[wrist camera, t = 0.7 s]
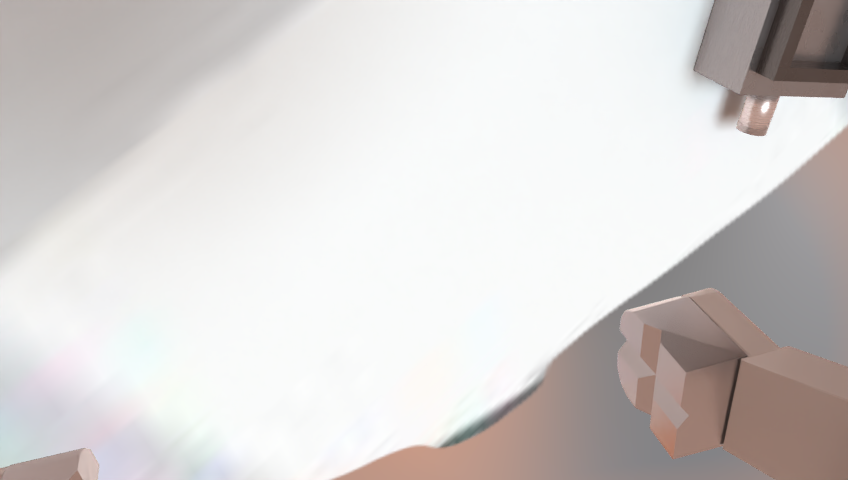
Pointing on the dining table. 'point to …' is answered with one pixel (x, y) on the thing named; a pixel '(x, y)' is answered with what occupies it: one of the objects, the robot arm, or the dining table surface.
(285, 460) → the dining table surface
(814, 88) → the motor block
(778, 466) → the robot arm
